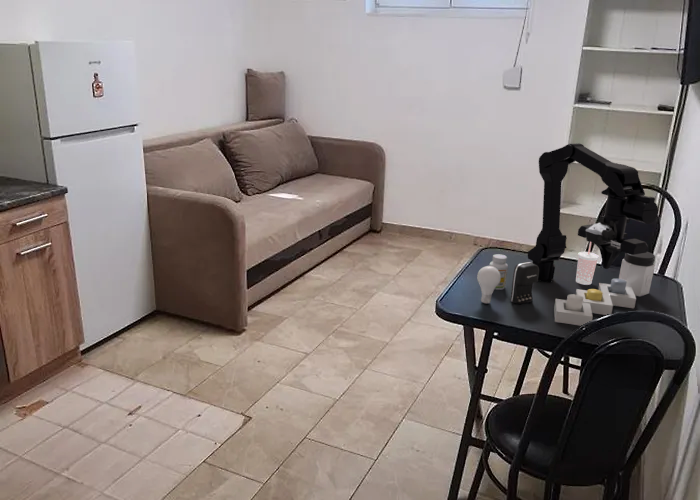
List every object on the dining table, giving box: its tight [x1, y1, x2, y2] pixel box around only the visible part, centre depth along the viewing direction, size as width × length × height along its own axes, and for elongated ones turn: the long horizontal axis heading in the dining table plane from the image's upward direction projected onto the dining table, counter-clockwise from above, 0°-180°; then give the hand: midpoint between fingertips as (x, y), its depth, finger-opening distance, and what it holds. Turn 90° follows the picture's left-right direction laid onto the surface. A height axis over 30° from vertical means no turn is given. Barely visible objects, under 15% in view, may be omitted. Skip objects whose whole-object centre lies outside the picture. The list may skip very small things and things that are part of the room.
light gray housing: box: [597, 282, 637, 309], centre depth 180 cm, size 9×9×3 cm
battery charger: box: [509, 261, 539, 305], centre depth 174 cm, size 7×4×11 cm, turn 120°
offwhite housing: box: [553, 298, 593, 327], centre depth 167 cm, size 9×9×3 cm
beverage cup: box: [575, 242, 600, 286], centre depth 191 cm, size 6×6×14 cm
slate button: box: [609, 278, 627, 294], centre depth 179 cm, size 4×4×4 cm
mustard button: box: [586, 288, 603, 301], centre depth 174 cm, size 4×4×4 cm
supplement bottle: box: [488, 253, 509, 291], centre depth 184 cm, size 5×5×10 cm
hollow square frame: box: [574, 288, 614, 316], centre depth 174 cm, size 9×9×3 cm
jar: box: [618, 251, 656, 297], centre depth 186 cm, size 9×8×12 cm
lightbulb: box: [476, 265, 501, 305], centre depth 172 cm, size 6×6×11 cm
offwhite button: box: [565, 293, 583, 312], centre depth 166 cm, size 4×4×4 cm
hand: (605, 268), depth 171 cm, fingers closed
